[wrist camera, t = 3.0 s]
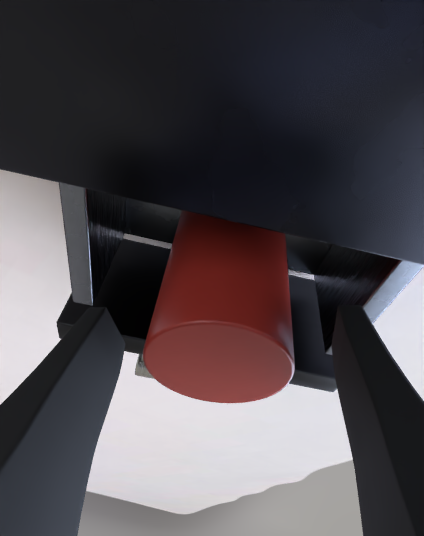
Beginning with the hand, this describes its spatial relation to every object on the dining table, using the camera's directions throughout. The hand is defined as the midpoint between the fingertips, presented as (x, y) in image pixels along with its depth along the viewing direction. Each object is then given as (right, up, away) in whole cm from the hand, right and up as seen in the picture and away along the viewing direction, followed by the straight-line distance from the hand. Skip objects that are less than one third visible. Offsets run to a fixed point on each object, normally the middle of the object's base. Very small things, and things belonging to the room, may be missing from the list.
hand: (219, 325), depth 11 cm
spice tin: (+1, +4, +4) cm, 6 cm away
